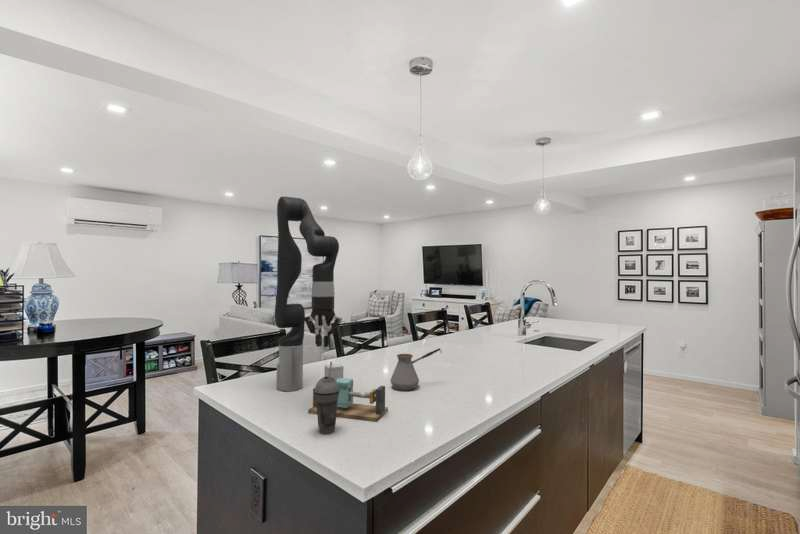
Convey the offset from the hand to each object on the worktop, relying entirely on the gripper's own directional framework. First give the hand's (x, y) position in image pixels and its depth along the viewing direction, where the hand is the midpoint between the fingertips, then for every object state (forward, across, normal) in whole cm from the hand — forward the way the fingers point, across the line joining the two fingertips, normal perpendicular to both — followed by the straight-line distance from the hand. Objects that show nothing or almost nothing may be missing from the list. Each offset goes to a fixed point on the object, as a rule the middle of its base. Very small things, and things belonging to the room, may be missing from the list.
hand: (322, 346), depth 131 cm
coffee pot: (+21, +24, +34) cm, 46 cm away
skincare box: (+21, -2, +11) cm, 24 cm away
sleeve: (+19, +8, 0) cm, 20 cm away
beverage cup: (+21, +10, -16) cm, 28 cm away
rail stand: (+21, +10, 0) cm, 23 cm away
